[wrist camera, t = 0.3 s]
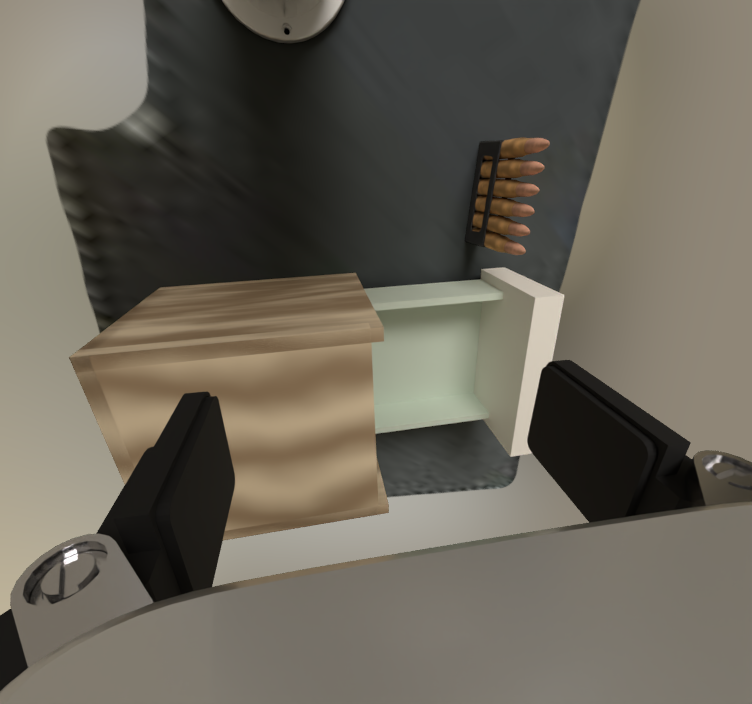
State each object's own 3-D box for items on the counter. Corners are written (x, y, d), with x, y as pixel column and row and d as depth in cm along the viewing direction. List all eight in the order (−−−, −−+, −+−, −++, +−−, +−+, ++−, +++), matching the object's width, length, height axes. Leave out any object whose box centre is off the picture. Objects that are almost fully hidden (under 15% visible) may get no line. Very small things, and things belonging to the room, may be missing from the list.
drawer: (316, 282, 43) (320, 317, 32) (514, 266, 46) (577, 293, 36) (331, 418, 51) (337, 483, 40) (498, 397, 55) (545, 451, 44)
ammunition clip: (478, 242, 46) (531, 262, 35) (464, 241, 45) (513, 262, 35) (495, 142, 41) (562, 131, 30) (480, 141, 41) (541, 129, 30)
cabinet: (160, 287, 42) (69, 357, 26) (355, 272, 45) (383, 327, 29) (202, 431, 50) (154, 551, 34) (363, 411, 53) (388, 512, 37)
